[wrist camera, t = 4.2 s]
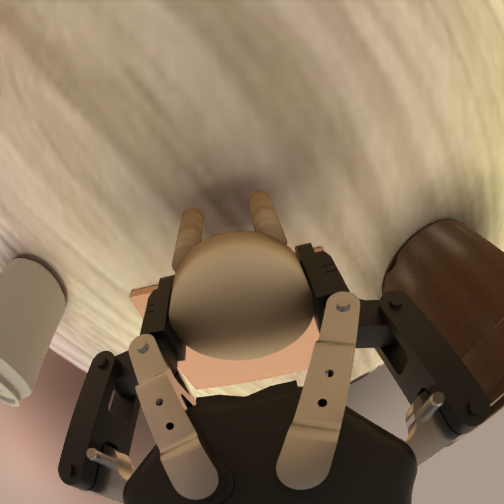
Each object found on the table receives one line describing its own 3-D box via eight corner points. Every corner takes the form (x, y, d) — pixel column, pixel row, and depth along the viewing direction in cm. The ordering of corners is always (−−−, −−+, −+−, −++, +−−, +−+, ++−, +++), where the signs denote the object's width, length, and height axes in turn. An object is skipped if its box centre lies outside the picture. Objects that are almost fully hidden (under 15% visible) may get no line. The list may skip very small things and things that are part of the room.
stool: (168, 206, 15) (143, 282, 10) (275, 178, 15) (308, 243, 9) (201, 285, 18) (199, 368, 13) (290, 264, 18) (317, 344, 13)
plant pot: (470, 163, 18) (604, 269, 5) (486, 266, 26) (555, 357, 12) (335, 269, 23) (417, 453, 9) (390, 341, 30) (438, 452, 17)
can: (58, 255, 19) (-7, 371, 9) (77, 317, 23) (41, 422, 13) (1, 249, 18) (-63, 341, 8) (23, 306, 22) (-18, 395, 12)
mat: (131, 290, 22) (129, 297, 21) (321, 247, 21) (325, 253, 21) (196, 384, 31) (195, 389, 30) (326, 358, 30) (328, 363, 30)
